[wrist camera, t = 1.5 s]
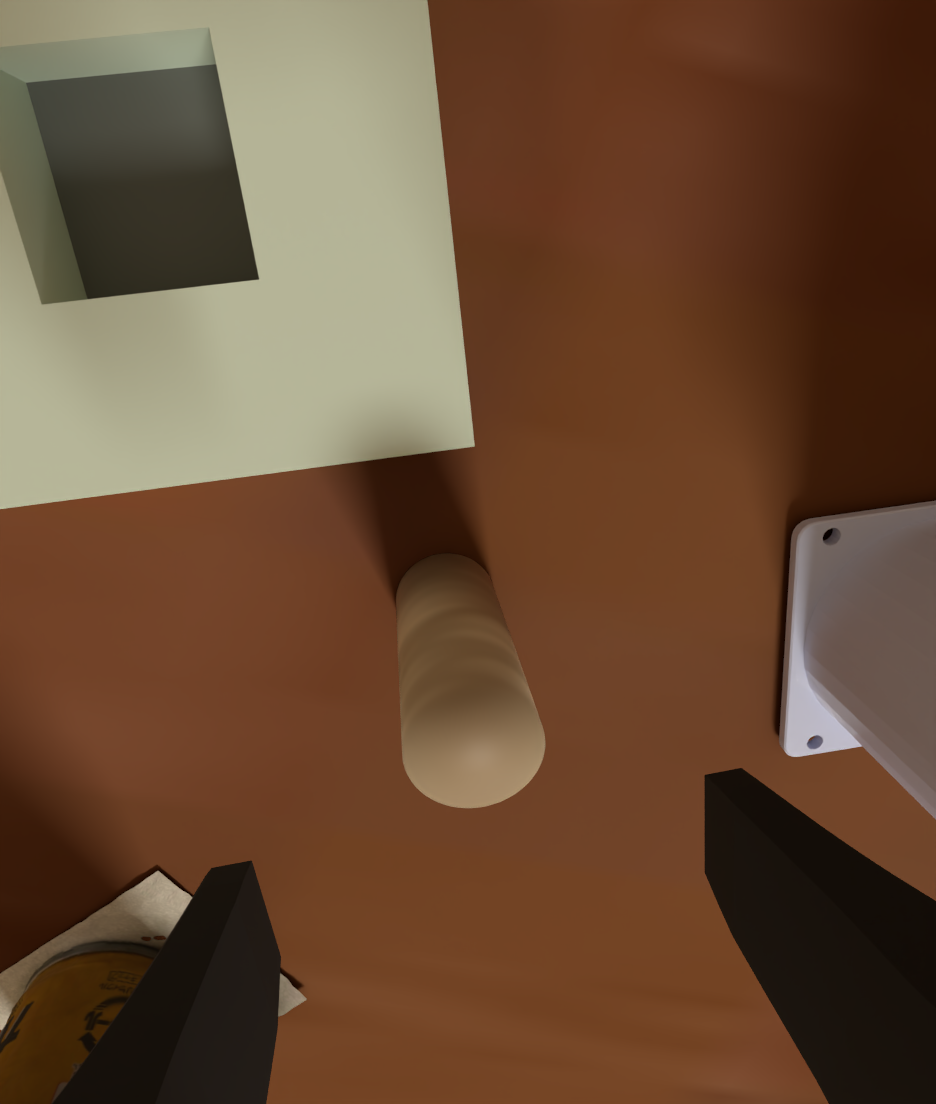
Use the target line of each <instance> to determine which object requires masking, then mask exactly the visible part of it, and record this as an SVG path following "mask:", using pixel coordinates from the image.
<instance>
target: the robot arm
mask: <svg viewBox="0 0 936 1104" xmlns="http://www.w3.org/2000/svg"><path fill="white" fill-rule="evenodd" d="M831 528H832V529H833V532H832V535H831V536H830V537H829V538H828V539H827V540H824V541H823V536H824V533H825V532H826V531H827V530H828V529H831ZM815 735H816V736H815ZM812 736H815V738H814V739H813V740H811V741H808V740H809V739H810V738H811V737H812ZM779 743H780V746H781V747H782V748H783V750H784V751H785V752H786V753H787V754H788V755H790V756H792V757H799V756H806V755H812V754H818V753H824V752H830V751H836V750H843V749H849V748H855V747H861V746H863V747H864V748H865V749H866V750H867V751H868V752H869V753H870V754H871V755H872V756H873V757H874V758H875V759H876V760H877V761H878V762H879V763H880V764H881V765H882V766H883V767H884V768H885V769H886V770H887V771H888V772H889V773H890V774H891V775H892V776H893V777H894V778H895V779H896V780H897V781H898V782H899V783H900V784H901V785H902V786H903V787H904V788H905V789H906V790H907V791H908V792H909V793H910V794H911V795H912V796H913V797H914V798H915V799H916V800H917V801H918V802H919V803H920V804H921V805H922V806H923V807H924V808H925V809H926V810H927V811H928V812H929V813H930V814H931V815H932V816H933V817H934V818H935V819H936V501H930V502H923V503H916V504H909V505H901V506H894V507H887V508H880V509H873V510H866V511H859V512H852V513H845V514H838V515H831V516H824V517H817V518H810V519H807V520H804V521H802V522H800V523H799V524H798V525H797V526H796V527H795V529H794V530H793V533H792V537H791V551H790V567H789V584H788V601H787V617H786V634H785V651H784V668H783V684H782V701H781V718H780V734H779ZM705 874H706V876H707V879H708V881H709V883H710V886H711V888H712V890H713V893H714V895H715V897H716V900H717V902H718V904H719V907H720V909H721V911H722V913H723V916H724V918H725V920H726V922H727V924H728V927H729V929H730V931H731V933H732V935H733V937H734V939H735V941H736V943H737V944H738V946H739V948H740V950H741V951H742V953H743V955H744V957H745V958H746V960H747V962H748V964H749V965H750V967H751V969H752V971H753V972H754V974H755V976H756V977H757V979H758V981H759V983H760V984H761V986H762V988H763V990H764V991H765V993H766V995H767V996H768V998H769V1000H770V1002H771V1003H772V1005H773V1007H774V1008H775V1010H776V1012H777V1014H778V1015H779V1017H780V1019H781V1020H782V1022H783V1024H784V1026H785V1027H786V1029H787V1031H788V1032H789V1034H790V1036H791V1037H792V1039H793V1041H794V1043H795V1044H796V1046H797V1048H798V1049H799V1051H800V1053H801V1055H802V1056H803V1058H804V1060H805V1061H806V1063H807V1065H808V1067H809V1068H810V1070H811V1072H812V1073H813V1075H814V1077H815V1079H816V1080H817V1082H818V1084H819V1086H820V1088H821V1090H822V1091H823V1093H824V1095H825V1097H826V1099H827V1101H828V1103H829V1104H936V901H935V900H933V899H932V898H930V897H928V896H927V895H925V894H924V893H922V892H920V891H919V890H917V889H915V888H914V887H912V886H911V885H909V884H907V883H906V882H904V881H903V880H901V879H899V878H898V877H896V876H894V875H893V874H891V873H890V872H888V871H887V870H885V869H884V868H882V867H881V866H879V865H877V864H876V863H874V862H873V861H871V860H870V859H868V858H867V857H865V856H864V855H862V854H861V853H859V852H858V851H856V850H855V849H854V848H852V847H851V846H849V845H848V844H846V843H845V842H843V841H842V840H840V839H839V838H837V837H836V836H835V835H833V834H832V833H830V832H829V831H827V830H826V829H825V828H823V827H822V826H820V825H819V824H818V823H816V822H815V821H813V820H812V819H811V818H809V817H808V816H806V815H805V814H804V813H802V812H801V811H800V810H798V809H797V808H795V807H794V806H793V805H791V804H790V803H789V802H787V801H786V800H784V799H783V798H782V797H780V796H779V795H778V794H776V793H775V792H774V791H772V790H771V789H769V788H768V787H767V786H765V785H764V784H763V783H761V782H760V781H759V780H757V779H756V778H754V777H753V776H752V775H750V774H749V773H747V772H746V771H745V770H743V769H742V768H739V769H734V770H729V771H723V772H718V773H713V774H707V775H705ZM280 964H281V956H280V952H279V949H278V946H277V942H276V939H275V936H274V933H273V929H272V926H271V923H270V919H269V916H268V913H267V909H266V906H265V903H264V900H263V896H262V893H261V890H260V886H259V883H258V880H257V877H256V873H255V870H254V867H253V863H252V861H247V862H241V863H236V864H231V865H225V866H220V867H215V868H211V870H210V871H209V872H208V873H207V875H206V876H205V878H204V879H203V881H202V883H201V884H200V886H199V887H198V889H197V891H196V892H195V894H194V896H193V897H192V899H191V901H190V902H189V904H188V905H187V907H186V909H185V910H184V912H183V914H182V915H181V917H180V919H179V920H178V922H177V923H176V925H175V927H174V928H173V930H172V931H171V933H170V935H169V936H168V938H167V939H166V941H165V943H164V944H163V946H162V947H161V949H160V951H159V952H158V954H157V955H156V957H155V958H154V960H153V961H152V963H151V964H150V966H149V967H148V969H147V971H146V972H145V974H144V975H143V977H142V978H141V980H140V981H139V983H138V984H137V986H136V987H135V989H134V990H133V992H132V993H131V995H130V996H129V998H128V999H127V1001H126V1002H125V1004H124V1005H123V1007H122V1008H121V1010H120V1011H119V1013H118V1014H117V1015H116V1017H115V1018H114V1020H113V1021H112V1022H111V1024H110V1025H109V1027H108V1028H107V1029H106V1031H105V1032H104V1034H103V1035H102V1036H101V1038H100V1039H99V1041H98V1042H97V1043H96V1045H95V1046H94V1048H93V1049H92V1050H91V1052H90V1053H89V1055H88V1056H87V1057H86V1059H85V1060H84V1062H83V1063H82V1064H81V1066H80V1067H79V1068H78V1070H77V1071H76V1072H75V1074H74V1075H73V1077H72V1078H71V1079H70V1080H69V1082H68V1083H67V1084H66V1086H65V1087H64V1088H63V1090H62V1091H61V1092H60V1094H59V1095H58V1096H57V1097H56V1099H55V1100H54V1101H53V1103H52V1104H266V1100H267V1094H268V1088H269V1081H270V1075H271V1068H272V1062H273V1055H274V1049H275V1042H276V1035H277V1027H278V1009H279V990H280Z"/></svg>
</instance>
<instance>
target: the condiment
mask: <svg viewBox="0 0 936 1104" xmlns="http://www.w3.org/2000/svg"><path fill="white" fill-rule="evenodd" d="M191 899H192V897H191V896H190V895H189V894H188V893H186V892H184V891H182V890H181V889H180V888H178V887H177V886H176V885H175V884H173V883H172V882H171V881H170V880H169V879H167V878H166V877H165V876H164V875H163V874H161V873H160V872H159V871H157V872H155V873H154V874H152V875H151V876H149V877H148V878H146V879H145V880H144V881H142V882H141V883H140V884H138V885H137V886H135V887H134V888H132V889H130V890H128V891H126V892H125V893H123V894H122V895H120V896H119V897H118V898H116V899H115V900H114V901H113V902H112V903H110V904H109V905H107V906H105V907H103V908H102V909H100V910H99V911H97V912H95V913H94V914H92V915H91V916H89V917H88V918H87V919H85V920H84V921H83V922H81V923H78V924H77V925H75V926H74V927H72V928H71V929H69V930H68V931H66V932H64V933H63V934H61V935H59V936H57V937H56V938H54V939H52V940H51V941H49V942H48V943H46V944H44V945H43V946H41V947H40V948H39V949H37V950H36V951H34V952H33V953H31V954H30V955H29V956H27V957H25V958H24V959H22V960H20V961H19V962H17V963H16V964H15V965H13V966H11V967H10V968H8V969H7V970H5V971H3V972H2V973H1V974H0V1030H2V1031H1V1033H0V1104H52V1103H53V1101H54V1100H55V1099H56V1097H57V1096H58V1095H59V1094H60V1092H61V1091H62V1090H63V1088H64V1087H65V1086H66V1084H67V1083H68V1082H69V1080H70V1079H71V1078H72V1077H73V1075H74V1074H75V1072H76V1071H77V1070H78V1068H79V1067H80V1066H81V1064H82V1063H83V1062H84V1060H85V1059H86V1057H87V1056H88V1055H89V1053H90V1052H91V1050H92V1049H93V1048H94V1046H95V1045H96V1043H97V1042H98V1041H99V1039H100V1038H101V1036H102V1035H103V1034H104V1032H105V1031H106V1029H107V1028H108V1027H109V1025H110V1024H111V1022H112V1021H113V1020H114V1018H115V1017H116V1015H117V1014H118V1013H119V1011H120V1010H121V1008H122V1007H123V1005H124V1004H125V1002H126V1001H127V999H128V998H129V996H130V995H131V993H132V992H133V990H134V989H135V987H136V986H137V984H138V983H139V981H140V980H141V978H142V977H143V975H144V974H145V972H146V971H147V969H148V967H149V966H150V964H151V963H152V961H153V960H154V958H155V957H156V955H157V954H158V952H159V951H160V949H161V947H162V946H163V944H164V943H165V941H166V940H155V939H154V937H155V936H164V937H166V939H167V938H168V936H169V935H170V933H171V931H172V930H173V928H174V927H175V925H176V923H177V922H178V920H179V919H180V917H181V915H182V914H183V912H184V910H185V909H186V907H187V905H188V904H189V902H190V901H191ZM143 936H144V937H150V938H151V940H150V941H143V940H142V938H141V937H143ZM305 1000H307V999H306V998H305V997H304V996H303V995H302V994H301V993H300V992H299V991H298V990H297V989H296V988H294V987H293V986H292V985H291V983H290V981H289V980H288V979H287V978H286V977H284V976H283V975H282V974H281V973H280V990H279V1009H278V1017H279V1016H281V1015H284V1014H285V1013H287V1012H288V1011H289V1010H291V1009H292V1008H294V1007H295V1006H297V1005H299V1004H300V1003H302V1002H304V1001H305Z"/></svg>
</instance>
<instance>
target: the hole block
mask: <svg viewBox="0 0 936 1104" xmlns="http://www.w3.org/2000/svg"><path fill="white" fill-rule="evenodd" d="M474 446H475V445H474V436H473V426H472V417H471V407H470V398H469V388H468V379H467V370H466V360H465V351H464V341H463V332H462V322H461V313H460V304H459V294H458V285H457V275H456V266H455V257H454V247H453V238H452V228H451V219H450V209H449V200H448V191H447V181H446V172H445V162H444V153H443V143H442V134H441V125H440V115H439V106H438V96H437V87H436V78H435V68H434V59H433V49H432V40H431V30H430V21H429V12H428V2H427V0H0V509H4V508H12V507H19V506H27V505H34V504H42V503H49V502H57V501H65V500H72V499H80V498H87V497H95V496H103V495H110V494H118V493H125V492H133V491H140V490H148V489H156V488H163V487H171V486H178V485H186V484H193V483H201V482H209V481H216V480H224V479H231V478H239V477H247V476H254V475H262V474H269V473H277V472H284V471H292V470H300V469H307V468H315V467H322V466H330V465H337V464H345V463H353V462H360V461H368V460H375V459H383V458H391V457H398V456H406V455H413V454H421V453H428V452H436V451H444V450H451V449H459V448H466V447H474Z"/></svg>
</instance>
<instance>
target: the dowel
mask: <svg viewBox="0 0 936 1104" xmlns="http://www.w3.org/2000/svg"><path fill="white" fill-rule="evenodd" d="M396 615H397V639H398V663H399V687H400V710H401V734H402V755H403V763H404V767H405V770H406V772H407V775H408V777H409V778H410V780H411V781H412V783H413V784H414V785H415V786H416V788H417V789H418V790H420V791H421V792H422V793H423V794H424V795H426V796H427V797H429V798H430V799H432V800H434V801H436V802H439V803H442V804H444V805H448V806H452V807H459V808H477V807H484V806H488V805H492V804H495V803H498V802H501V801H503V800H505V799H507V798H509V797H511V796H512V795H514V794H516V793H517V792H518V791H520V790H521V789H522V788H523V787H524V786H526V785H527V784H528V783H529V781H530V780H531V779H532V778H533V777H534V775H535V774H536V772H537V770H538V769H539V767H540V764H541V762H542V759H543V756H544V751H545V735H544V730H543V727H542V724H541V721H540V718H539V715H538V712H537V709H536V707H535V704H534V701H533V698H532V695H531V692H530V689H529V687H528V684H527V681H526V678H525V675H524V672H523V669H522V667H521V664H520V661H519V658H518V655H517V652H516V650H515V647H514V644H513V641H512V638H511V635H510V632H509V630H508V627H507V624H506V621H505V618H504V615H503V612H502V610H501V607H500V604H499V601H498V598H497V595H496V592H495V590H494V587H493V584H492V581H491V579H490V577H489V575H488V574H487V572H486V571H485V570H484V569H483V568H482V566H480V565H479V564H478V563H477V562H475V561H474V560H472V559H470V558H468V557H465V556H462V555H459V554H452V553H443V554H436V555H432V556H429V557H426V558H424V559H422V560H420V561H419V562H417V563H415V564H414V565H413V566H412V567H411V568H410V569H409V570H408V571H407V572H406V573H405V574H404V576H403V577H402V579H401V581H400V583H399V586H398V589H397V593H396Z"/></svg>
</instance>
